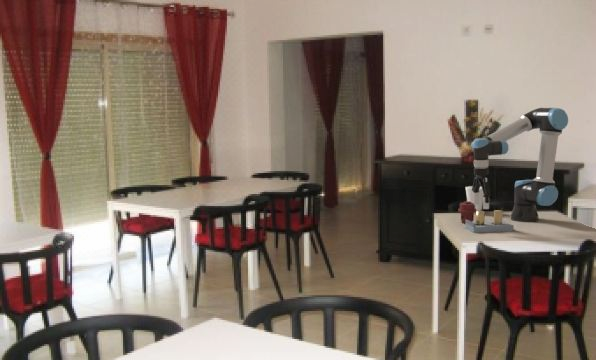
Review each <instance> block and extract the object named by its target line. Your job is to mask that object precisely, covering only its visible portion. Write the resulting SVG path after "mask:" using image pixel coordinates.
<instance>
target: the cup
mask: <svg viewBox="0 0 596 360" xmlns="http://www.w3.org/2000/svg"><path fill="white" fill-rule="evenodd" d="M472 186H473V185H472ZM472 186H471V185H469V186H465V193H466V194H465V195H466V201H470V202H471V203H474V192H473V191H472ZM477 193H479V204H478V205H475V209H476V211H482V210H483V206H484V198H483V196H484V193H483V190H482V187H481V186H480V188H479V192H477ZM474 215H476V213H474Z"/></svg>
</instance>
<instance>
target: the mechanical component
mask: <svg viewBox="0 0 596 360" xmlns="http://www.w3.org/2000/svg"><path fill="white" fill-rule="evenodd" d="M457 210H458V211H457V212H459V213H460V221H461V223H462V224H465V220H466V219H467V220H469V221H471V222H473V221H474V218H475V217H474V215H475V214H474V213H476V209H475V205H474V203H471V202H470V201H467V200H466V201H463V202H460V203H459V208H458V209H457Z"/></svg>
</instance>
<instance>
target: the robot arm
mask: <svg viewBox="0 0 596 360" xmlns="http://www.w3.org/2000/svg"><path fill="white" fill-rule="evenodd" d="M568 124H569V117H568V114H567V112H566V111H565V110H564V109H563V108H559V107H538V108H535V109H533V110H531V111H528V112H526V113H525V114H523V115H521V116H519V118H518V119H517V120H515V121H513V122H511V123H509V124H508V125H506V126H504V127H502V128H500V129H498V130H497V131H495V132H493V133H491V134H489V135H487V136H485V137H479V138H478V137H477V138H475V139H473V141H472V143H471V150H472V152H473V161H472V163H473V167H474V168H473V183H472V191H473V192H474V205H478V204H479V193H477V192H479V188H480V186H481V187H482V190H483V193H484V196H483V198H484V199H483V210H489V209H490V197H491V196H492V193H491V188H490V183H489V181H490V180H489V177H487V176H488V175H489V165H490V164H489V162H490V159H489V157H490V156H502V155H506V154H508V151H509V143H508V142H507V141H509V140H511V139H513V138H515V137H517V136H519V135H521V134H522V133H525V132H530V131H532V130H535V129H536V130H537V129H539V133H540V134H541V137H540V139H541V140H540V144H539V145H540V146H539V152H538V153H539V154H538V162H537V168H536V177H534V178H533V179H523V180H516V181H515V183H514V191H513V192H514V193H513V194H514V198H513V199H514V201H513V202H514V204H513V205H514V206H513V208H512V211H511V214H510V220H512V221H516V222H525V223H526V222H527V223H528V222H529V223H530V222H536V221H539V213H538V210H537V207H536V205H538V206H544V207H545V206H546V207H547V206H549V207H550V206H552V205H553V204H555V202H556V201H557V199H558V196H559V190H558V189H557V187H556V182H555V180H554V172H555V171H554V170H555V163H556V157H557V148H558V141H559V136H560V135H561V134H563V130H564V129H566V127H567V126H568Z"/></svg>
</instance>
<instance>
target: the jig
mask: <svg viewBox="0 0 596 360" xmlns="http://www.w3.org/2000/svg"><path fill="white" fill-rule="evenodd" d="M464 224H465V227H464V228H465V229H466V230H468V231H469V232H472V233H475V234H478V233H498V232H500V233H501V231H502V232H514V225H513V224H512V223H509V222H507V221H504V220H503V210H500V209H499V210H498V209H497V210H495V209H494V210H493V221H484V225H483V226H477V225H476V221H475V222H473V221H472V222H471V221H469V220H467V219H466V220H465V223H464Z"/></svg>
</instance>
